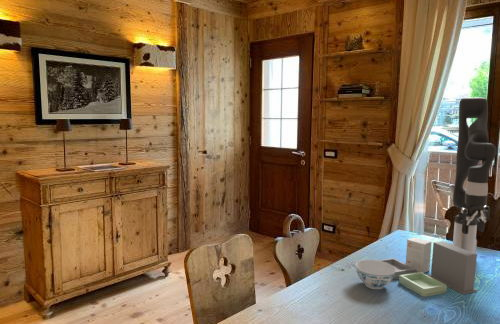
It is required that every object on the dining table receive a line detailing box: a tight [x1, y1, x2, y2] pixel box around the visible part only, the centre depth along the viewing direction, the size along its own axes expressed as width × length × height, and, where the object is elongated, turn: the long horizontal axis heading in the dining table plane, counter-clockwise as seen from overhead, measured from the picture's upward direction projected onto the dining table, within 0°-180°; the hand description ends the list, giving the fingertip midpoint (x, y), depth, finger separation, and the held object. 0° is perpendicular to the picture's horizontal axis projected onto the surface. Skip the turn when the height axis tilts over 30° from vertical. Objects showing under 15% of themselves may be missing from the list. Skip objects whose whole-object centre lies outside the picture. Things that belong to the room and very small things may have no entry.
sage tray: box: [398, 272, 448, 298], centre depth 151 cm, size 11×13×3 cm
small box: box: [405, 236, 433, 274], centre depth 168 cm, size 8×6×13 cm
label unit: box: [427, 240, 478, 295], centre depth 154 cm, size 7×17×15 cm, turn 20°
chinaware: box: [355, 259, 396, 290], centre depth 151 cm, size 15×15×8 cm
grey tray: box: [377, 257, 416, 280], centre depth 165 cm, size 11×13×3 cm
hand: (472, 232), depth 155 cm, fingers open, 8 cm apart
